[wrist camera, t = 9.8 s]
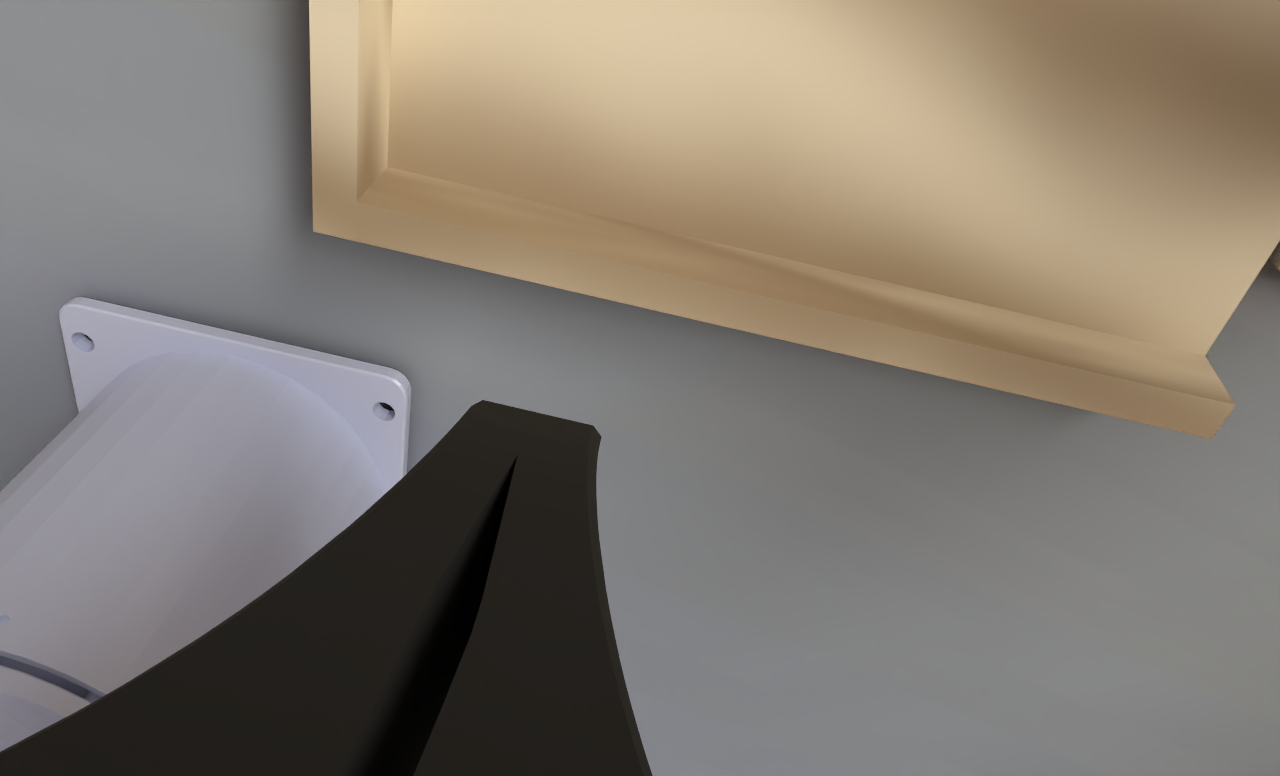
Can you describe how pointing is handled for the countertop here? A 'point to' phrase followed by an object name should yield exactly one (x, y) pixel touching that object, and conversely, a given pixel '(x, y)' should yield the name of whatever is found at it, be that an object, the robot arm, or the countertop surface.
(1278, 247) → the cover plate
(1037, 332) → the tray
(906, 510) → the countertop surface
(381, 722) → the robot arm
